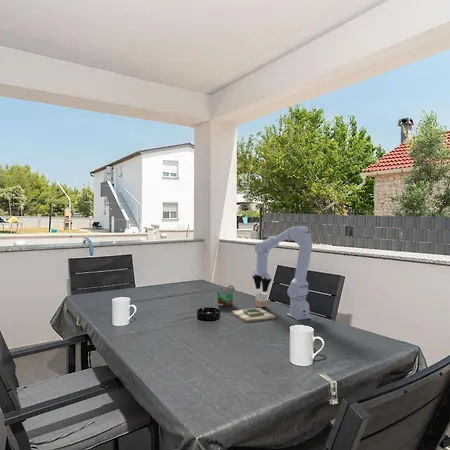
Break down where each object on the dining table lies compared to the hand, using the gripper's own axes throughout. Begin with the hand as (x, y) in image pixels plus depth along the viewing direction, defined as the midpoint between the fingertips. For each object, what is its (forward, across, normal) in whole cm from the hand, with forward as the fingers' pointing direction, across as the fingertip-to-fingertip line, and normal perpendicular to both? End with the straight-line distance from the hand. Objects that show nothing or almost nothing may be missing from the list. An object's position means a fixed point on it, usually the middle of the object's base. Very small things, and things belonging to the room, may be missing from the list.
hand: (261, 290), depth 192 cm
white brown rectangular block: (+9, 0, 0) cm, 9 cm away
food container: (+9, -8, -16) cm, 20 cm away
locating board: (+9, +14, -12) cm, 21 cm away
